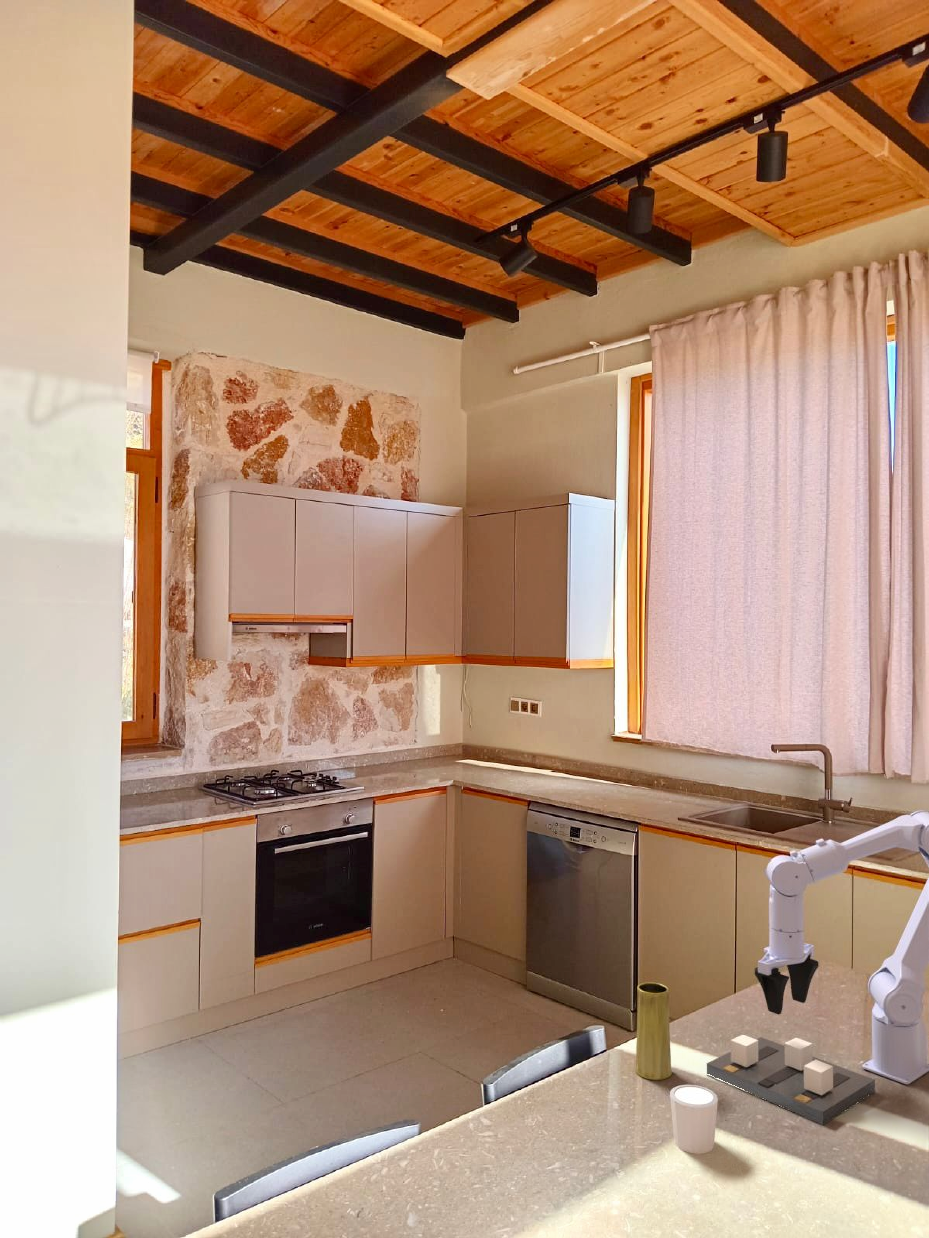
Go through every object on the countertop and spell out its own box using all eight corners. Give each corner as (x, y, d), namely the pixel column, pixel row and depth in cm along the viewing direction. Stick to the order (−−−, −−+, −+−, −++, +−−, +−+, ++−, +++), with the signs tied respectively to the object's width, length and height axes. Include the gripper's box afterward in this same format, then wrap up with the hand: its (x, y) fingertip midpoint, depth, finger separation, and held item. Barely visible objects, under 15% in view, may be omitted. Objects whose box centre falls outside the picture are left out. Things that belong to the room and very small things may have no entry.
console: (760, 1048, 169) (760, 1035, 169) (874, 1091, 153) (874, 1078, 153) (706, 1075, 159) (706, 1061, 159) (822, 1125, 143) (822, 1110, 143)
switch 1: (742, 1054, 161) (742, 1034, 162) (758, 1060, 159) (758, 1040, 159) (730, 1060, 159) (730, 1039, 159) (746, 1067, 157) (746, 1045, 157)
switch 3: (815, 1081, 152) (815, 1059, 152) (833, 1088, 150) (832, 1065, 150) (803, 1088, 150) (803, 1065, 150) (821, 1095, 147) (821, 1072, 147)
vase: (672, 1082, 157) (671, 995, 157) (634, 1078, 158) (634, 992, 158) (671, 1065, 163) (671, 982, 163) (635, 1062, 164) (635, 979, 164)
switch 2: (796, 1058, 160) (796, 1037, 160) (812, 1064, 158) (812, 1043, 158) (784, 1064, 158) (784, 1043, 158) (801, 1070, 156) (800, 1049, 156)
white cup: (719, 1135, 140) (719, 1087, 140) (716, 1159, 134) (716, 1109, 134) (672, 1127, 142) (672, 1080, 143) (667, 1150, 136) (666, 1102, 136)
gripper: (788, 914, 171) (789, 989, 171) (742, 930, 162) (742, 1010, 162) (825, 923, 166) (825, 1001, 165) (779, 940, 156) (779, 1023, 156)
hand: (787, 1006), depth 163 cm, fingers open, 7 cm apart
